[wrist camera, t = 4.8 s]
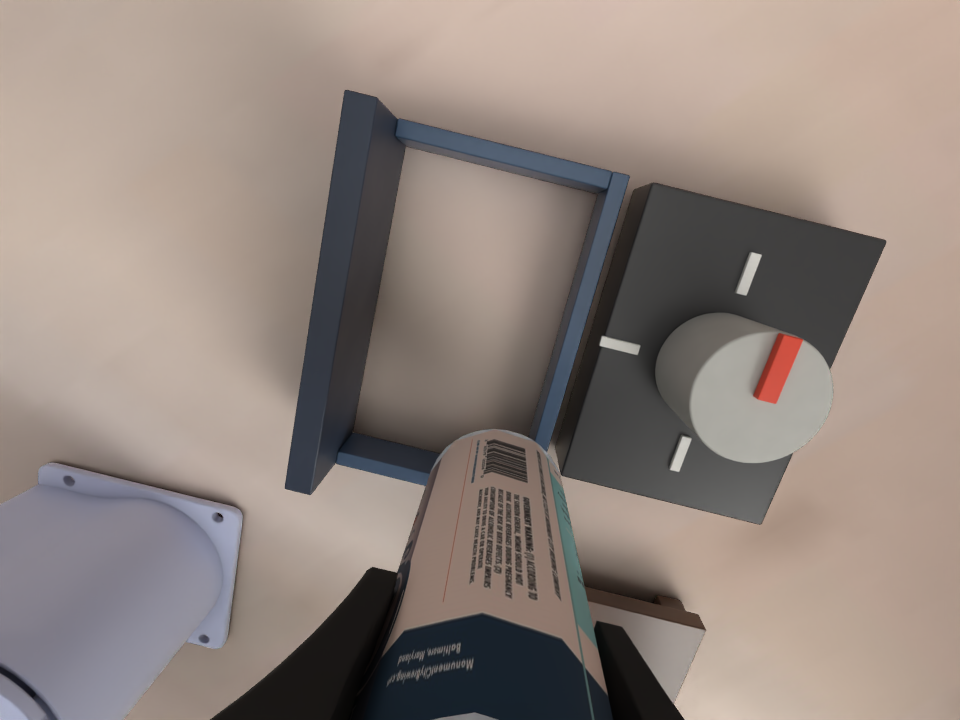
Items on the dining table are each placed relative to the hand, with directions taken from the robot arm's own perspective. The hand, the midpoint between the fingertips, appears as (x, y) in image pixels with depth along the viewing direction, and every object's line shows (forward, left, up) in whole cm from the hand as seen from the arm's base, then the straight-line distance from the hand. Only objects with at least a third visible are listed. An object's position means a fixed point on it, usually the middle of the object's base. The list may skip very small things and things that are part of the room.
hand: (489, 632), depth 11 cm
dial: (+6, +6, -8) cm, 12 cm away
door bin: (-3, +5, -10) cm, 12 cm away
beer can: (0, 0, -7) cm, 7 cm away
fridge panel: (+6, +6, -10) cm, 14 cm away
